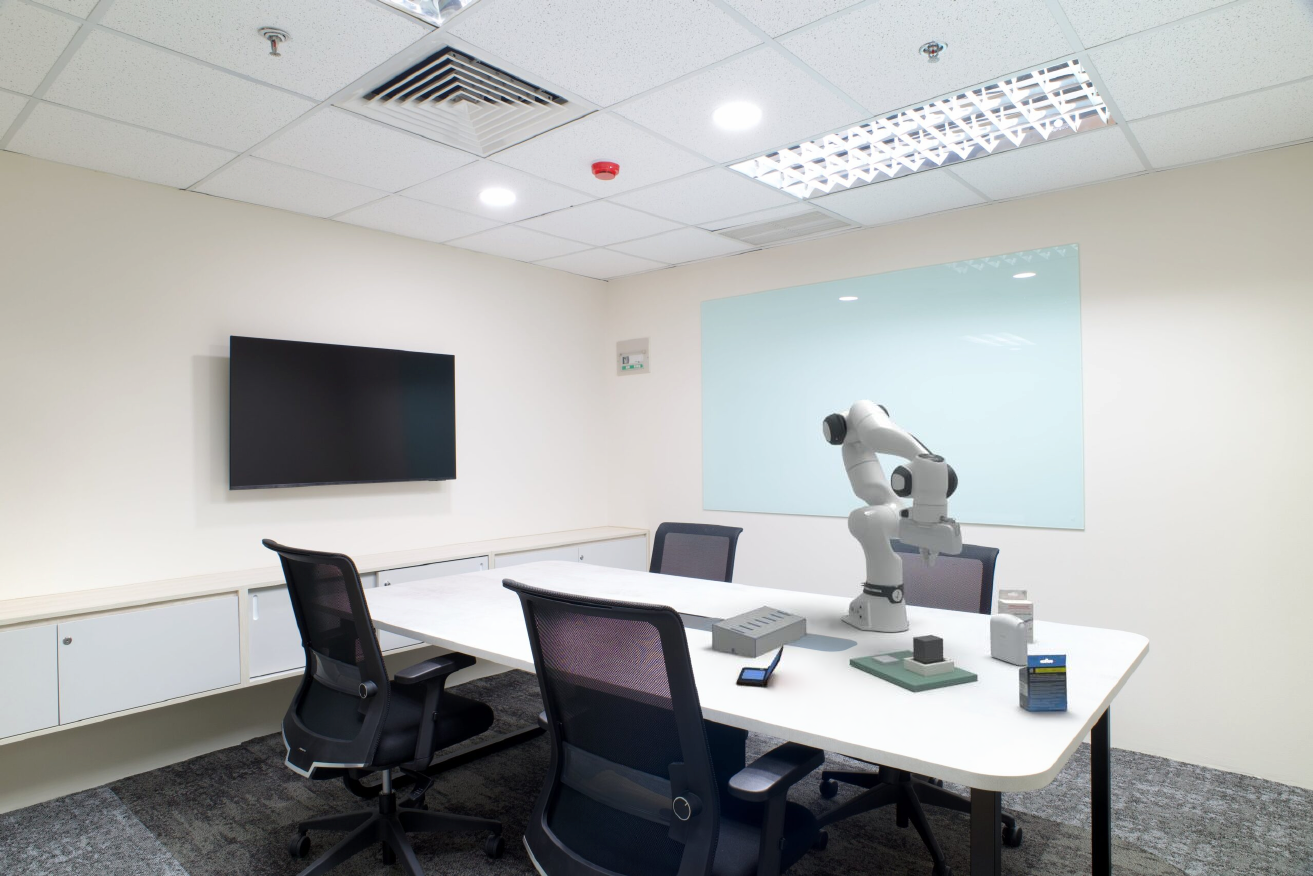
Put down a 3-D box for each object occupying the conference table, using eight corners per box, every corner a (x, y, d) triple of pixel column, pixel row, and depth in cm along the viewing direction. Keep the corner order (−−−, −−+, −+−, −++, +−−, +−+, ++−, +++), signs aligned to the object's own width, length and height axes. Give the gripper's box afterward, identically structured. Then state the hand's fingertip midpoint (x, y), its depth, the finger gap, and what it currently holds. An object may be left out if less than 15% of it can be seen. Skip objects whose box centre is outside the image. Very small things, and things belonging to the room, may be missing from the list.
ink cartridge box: (1003, 642, 217) (1003, 592, 217) (997, 638, 222) (997, 589, 222) (1034, 643, 216) (1033, 592, 217) (1027, 638, 221) (1026, 589, 222)
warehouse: (755, 659, 203) (755, 631, 204) (712, 650, 212) (712, 624, 212) (806, 636, 227) (806, 612, 227) (765, 629, 236) (765, 606, 236)
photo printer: (987, 656, 203) (987, 611, 203) (1000, 655, 205) (999, 610, 205) (1018, 667, 193) (1017, 619, 194) (1030, 665, 195) (1029, 618, 195)
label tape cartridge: (1057, 704, 165) (1057, 649, 165) (1068, 711, 161) (1067, 654, 161) (1018, 705, 165) (1018, 650, 165) (1028, 712, 161) (1027, 655, 161)
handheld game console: (742, 671, 192) (742, 642, 193) (784, 674, 190) (784, 644, 190) (735, 686, 180) (735, 655, 180) (780, 689, 178) (780, 658, 178)
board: (849, 664, 196) (849, 649, 196) (908, 655, 204) (908, 641, 204) (914, 692, 174) (914, 675, 174) (977, 680, 182) (977, 664, 182)
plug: (913, 669, 187) (913, 637, 187) (934, 665, 190) (934, 634, 190) (925, 673, 183) (924, 641, 184) (946, 670, 186) (946, 638, 186)
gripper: (968, 519, 191) (967, 572, 192) (912, 509, 210) (911, 557, 211) (950, 520, 189) (949, 573, 189) (894, 510, 207) (893, 559, 208)
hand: (928, 565), depth 200 cm, fingers closed
